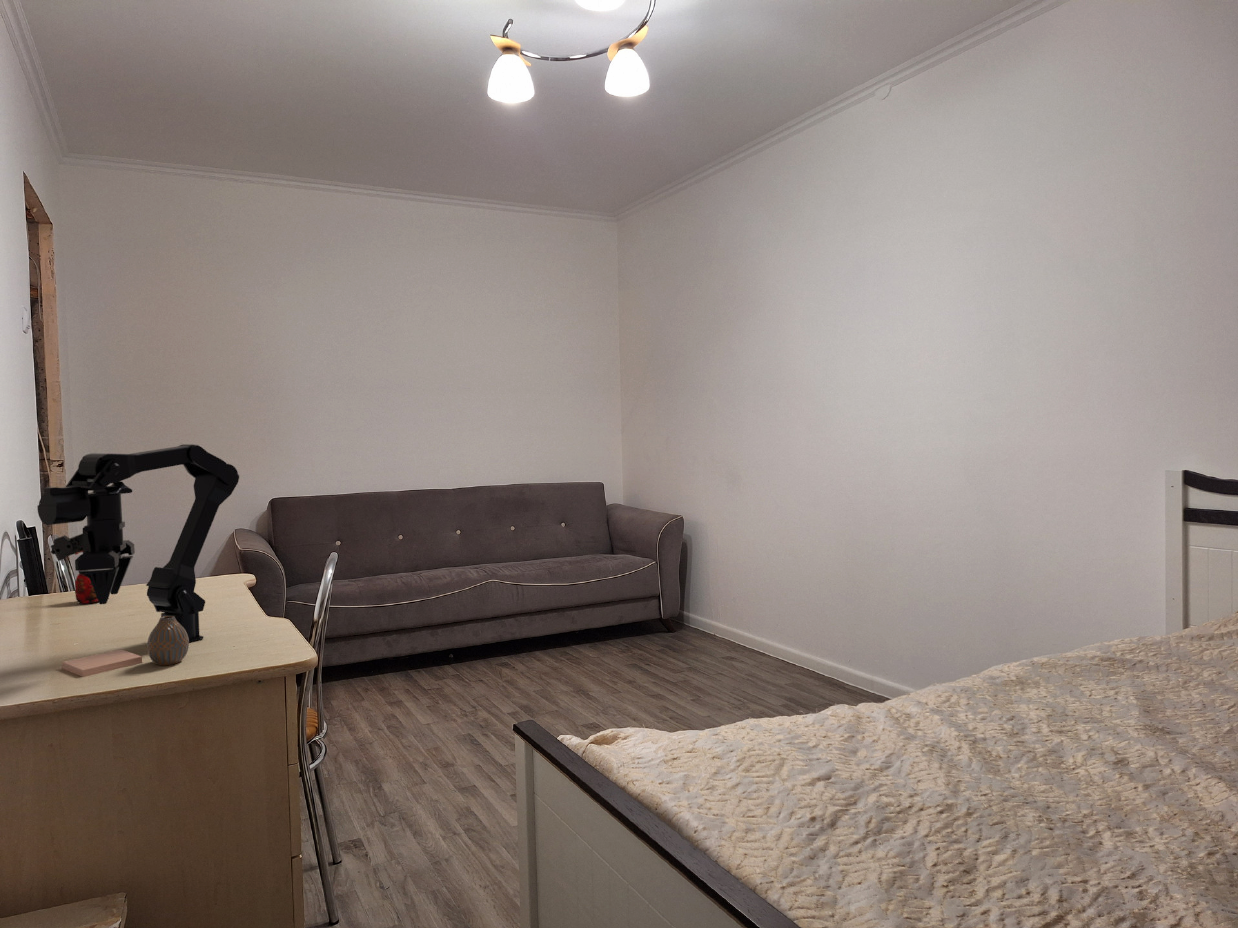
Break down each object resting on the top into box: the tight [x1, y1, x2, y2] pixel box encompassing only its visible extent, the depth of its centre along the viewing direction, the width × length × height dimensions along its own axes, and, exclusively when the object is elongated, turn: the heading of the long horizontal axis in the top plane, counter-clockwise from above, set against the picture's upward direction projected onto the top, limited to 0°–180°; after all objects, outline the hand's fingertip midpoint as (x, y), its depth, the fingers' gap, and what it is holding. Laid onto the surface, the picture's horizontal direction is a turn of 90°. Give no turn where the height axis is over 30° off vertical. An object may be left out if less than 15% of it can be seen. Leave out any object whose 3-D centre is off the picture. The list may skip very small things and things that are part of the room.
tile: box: [61, 649, 143, 678], centre depth 150 cm, size 10×2×9 cm
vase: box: [146, 616, 190, 666], centre depth 151 cm, size 7×7×9 cm
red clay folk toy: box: [74, 551, 110, 605], centre depth 206 cm, size 8×7×15 cm
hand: (108, 598), depth 153 cm, fingers open, 9 cm apart
